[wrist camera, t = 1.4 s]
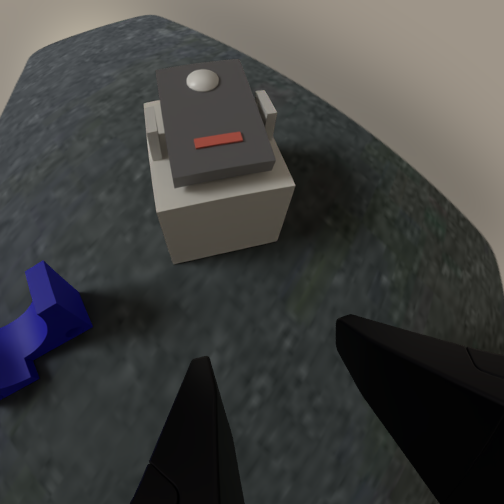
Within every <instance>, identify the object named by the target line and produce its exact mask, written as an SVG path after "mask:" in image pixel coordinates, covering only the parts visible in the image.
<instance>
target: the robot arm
mask: <svg viewBox="0 0 504 504" xmlns="http://www.w3.org/2000/svg"><path fill="white" fill-rule="evenodd" d="M336 347H337V351H338V353H339V355H340V356H341V358H342V360H343V362H344V364H345V365H346V367H347V369H348V371H349V373H350V375H351V376H352V378H353V380H354V382H355V384H356V386H357V387H358V389H359V391H360V392H361V394H362V396H363V397H364V399H365V400H366V401H367V403H368V404H369V406H370V407H371V408H372V410H373V411H374V413H375V414H376V415H377V417H378V418H379V419H380V421H381V422H382V424H383V425H384V426H385V428H386V429H387V431H388V432H389V433H390V435H391V436H392V438H393V439H394V440H395V442H396V443H397V445H398V446H399V447H400V449H401V450H402V451H403V453H404V454H405V456H406V457H407V458H408V460H409V461H410V463H411V464H412V465H413V467H414V468H415V470H416V471H417V472H418V474H419V475H420V477H421V478H422V479H423V481H424V482H425V484H426V485H427V486H428V488H429V489H430V491H431V492H432V493H433V495H434V496H435V498H436V499H437V500H438V502H439V503H440V504H504V355H500V354H495V353H490V352H486V351H482V350H478V349H474V348H470V347H467V348H466V347H465V346H463V345H459V344H455V343H451V342H448V341H444V340H440V339H436V338H433V337H429V336H426V335H422V334H418V333H415V332H411V331H408V330H404V329H401V328H397V327H394V326H390V325H387V324H383V323H380V322H376V321H373V320H369V319H366V318H362V317H359V316H356V315H352V314H350V315H346V316H343V317H341V318H338V319H337V321H336ZM149 463H150V464H148V465H147V467H146V470H145V472H144V475H143V477H142V479H141V481H140V484H139V486H138V488H137V490H136V492H135V495H134V497H133V499H132V500H131V502H130V504H245V503H244V497H243V492H242V487H241V481H240V476H239V470H238V464H237V459H236V453H235V447H234V442H233V437H232V433H231V429H230V426H229V423H228V420H227V416H226V413H225V410H224V406H223V403H222V399H221V396H220V392H219V389H218V386H217V382H216V379H215V375H214V372H213V368H212V365H211V361H210V358H209V357H208V356H204V357H200V358H195V359H193V360H192V361H191V363H190V366H189V368H188V370H187V373H186V375H185V377H184V380H183V382H182V384H181V387H180V389H179V391H178V394H177V396H176V399H175V401H174V403H173V406H172V408H171V410H170V413H169V415H168V417H167V420H166V422H165V425H164V427H163V429H162V432H161V434H160V436H159V439H158V441H157V444H156V446H155V448H154V451H153V453H152V456H151V458H150V460H149Z"/></svg>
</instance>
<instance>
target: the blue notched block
mask: <svg viewBox="0 0 504 504" xmlns="http://www.w3.org/2000/svg"><path fill="white" fill-rule="evenodd" d="M25 274H26V278H27V282H28V285H29V289H30V293H31V296H32V300H33V301H32V303H31V305H30V306H29V308H28V309H27V310H26V311H25V312H24V313H23V314H22V315H21V316H20V317H19V318H18V319H16V320H15V321H13V322H12V323H10V324H8V325H6V326H4V327H2V328H0V400H1V399H3V398H5V397H7V396H9V395H10V394H12V393H14V392H16V391H18V390H20V389H22V388H23V387H25V386H27V385H29V384H31V383H33V382H35V381H36V380H38V379H40V378H39V375H38V373H37V370H36V368H35V365H34V362H33V360H35V359H37V358H38V357H40V356H42V355H44V354H46V353H47V352H49V351H51V350H53V349H54V348H56V347H58V346H60V345H62V344H63V343H65V342H67V341H69V340H70V339H72V338H74V337H76V336H78V335H79V334H81V333H83V332H85V331H87V330H88V329H90V328H92V327H93V326H92V323H91V321H90V319H89V316H88V314H87V312H86V309H85V307H84V304H83V302H82V299H81V297H80V294H79V292H78V291H77V290H76V289H74V288H73V287H72V286H71V285H70V284H69V283H68V282H66V281H65V280H64V279H63V278H62V277H61V276H60V275H59V274H57V273H56V272H55V271H54V270H53V269H52V268H51V267H50V266H49V265H48V264H47V263H46V262H44V261H41V262H40V263H38V264H36V265H35V266H33V267H32V268H30V269H28V270H27V271H25Z"/></svg>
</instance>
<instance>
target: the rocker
mask: <svg viewBox="0 0 504 504" xmlns="http://www.w3.org/2000/svg"><path fill="white" fill-rule="evenodd" d="M156 77H157V85H158V92H159V99H160V106H161V113H162V119H163V126H164V132H165V138H166V144H167V150H168V156H169V162H170V167H171V173H172V178H173V184H174V188H179V187H184V186H189V185H194V184H199V183H204V182H209V181H214V180H220V179H225V178H230V177H236V176H242V175H247V174H253V173H259V172H266V171H272V169H273V166H274V164H275V161H276V159H275V156H274V153H273V150H272V147H271V144H270V141H269V138H268V136H267V133H266V130H265V127H264V124H263V121H262V118H261V116H260V113H259V110H258V107H257V105H256V102H255V99H254V96H253V94H252V91H251V88H250V86H249V83H248V80H247V78H246V75H245V72H244V70H243V67H242V64H241V62H240V59H233V60H222V61H213V62H204V63H197V64H190V65H183V66H177V67H171V68H165V69H160V70H156Z"/></svg>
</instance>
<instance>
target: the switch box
mask: <svg viewBox="0 0 504 504" xmlns="http://www.w3.org/2000/svg"><path fill="white" fill-rule="evenodd" d="M255 102H256V105H257V107H258V110H259V113H260V116H261V118H262V121H263V124H264V127H265V130H266V133H267V136H268V138H269V141H270V144H271V147H272V150H273V153H274V156H275V159H276V161H275V164H274V166H273V169H272V171H266V172H259V173H253V174H247V175H242V176H236V177H230V178H225V179H220V180H214V181H209V182H204V183H199V184H194V185H189V186H184V187H179V188H174V184H173V178H172V173H171V167H170V162H169V156H168V150H167V144H166V138H165V132H164V126H163V119H162V113H161V106H160V100H158V101H153V102H148V103H144V112H145V123H146V133H147V143H148V152H149V160H150V168H151V176H152V184H153V191H154V198H155V205H156V211H157V215H158V218H159V222H160V225H161V228H162V231H163V234H164V238H165V241H166V244H167V247H168V250H169V253H170V256H171V259H172V262H173V264H177V263H182V262H186V261H191V260H195V259H200V258H204V257H209V256H213V255H217V254H222V253H226V252H231V251H235V250H240V249H244V248H249V247H253V246H258V245H262V244H267V243H271V242H276V241H277V240H278V237H279V234H280V231H281V228H282V225H283V222H284V219H285V216H286V213H287V210H288V207H289V204H290V201H291V198H292V195H293V192H294V189H295V186H296V185H295V183H294V181H293V179H292V177H291V174H290V172H289V170H288V168H287V166H286V163H285V161H284V159H283V157H282V155H281V153H280V150H279V148H278V146H277V144H276V142H275V140H274V138H273V132H274V127H275V121H276V116H277V112H276V110H275V108H274V106H273V104H272V103H271V101H270V99H269V97H268V95H267V94H266V92H265V90H263V91H256V93H255Z"/></svg>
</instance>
